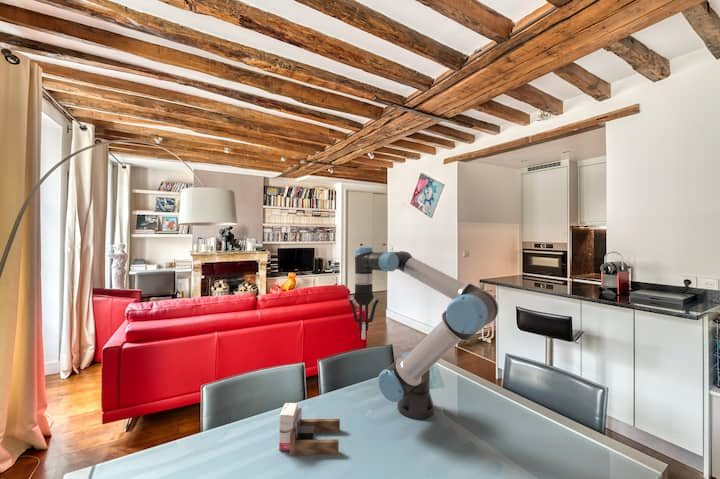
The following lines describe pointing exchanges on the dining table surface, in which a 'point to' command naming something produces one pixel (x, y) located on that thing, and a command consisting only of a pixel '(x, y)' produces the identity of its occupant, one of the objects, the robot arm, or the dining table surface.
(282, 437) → the ink box
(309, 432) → the grey stepped bracket
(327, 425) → the chute
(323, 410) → the dining table surface
